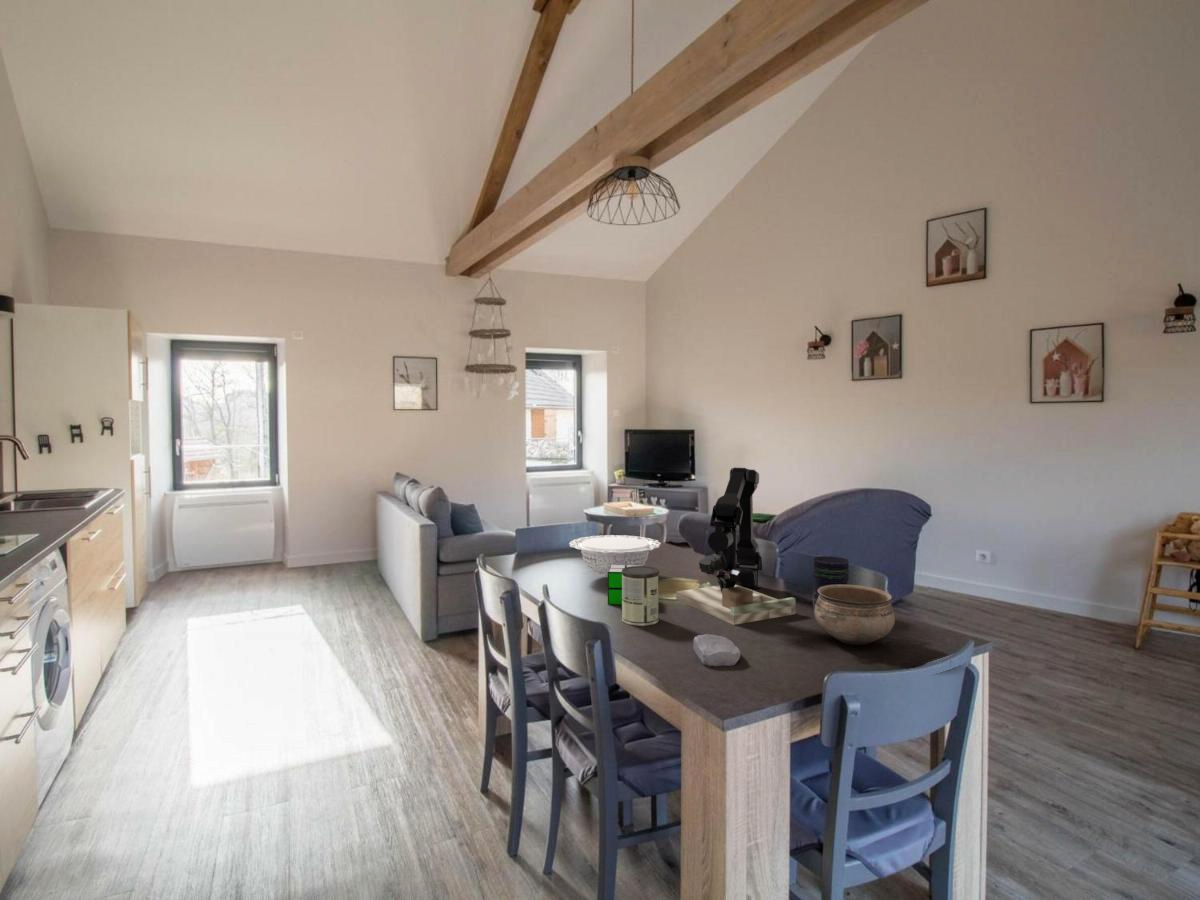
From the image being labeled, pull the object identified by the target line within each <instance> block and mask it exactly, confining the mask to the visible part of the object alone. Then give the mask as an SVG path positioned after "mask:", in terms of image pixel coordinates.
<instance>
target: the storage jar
mask: <svg viewBox="0 0 1200 900" xmlns="http://www.w3.org/2000/svg"><path fill="white" fill-rule="evenodd" d="M849 564H850V561H849V560H848V559H846V558H843V557H838V556H826V555H825V556H817V557H814V558H813V567H812V568H813V569H812V570H813V571H812V572H813V573H812V576H813V590H812V605H813V606H812V611H813V612H814V608H815V604H816V601H817V599H818V597H819V595H820V594H819V593H818V589H819V588H820V587H823V586H827V585H848V582H849V581H850V579H849V578H850V577H849V575H850V565H849Z"/></svg>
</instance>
